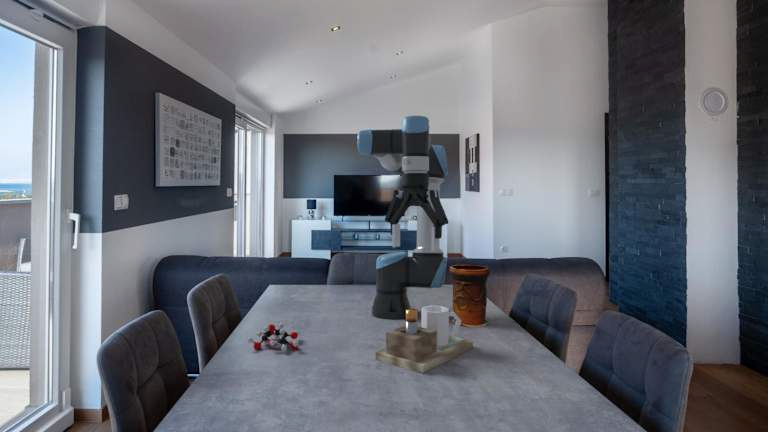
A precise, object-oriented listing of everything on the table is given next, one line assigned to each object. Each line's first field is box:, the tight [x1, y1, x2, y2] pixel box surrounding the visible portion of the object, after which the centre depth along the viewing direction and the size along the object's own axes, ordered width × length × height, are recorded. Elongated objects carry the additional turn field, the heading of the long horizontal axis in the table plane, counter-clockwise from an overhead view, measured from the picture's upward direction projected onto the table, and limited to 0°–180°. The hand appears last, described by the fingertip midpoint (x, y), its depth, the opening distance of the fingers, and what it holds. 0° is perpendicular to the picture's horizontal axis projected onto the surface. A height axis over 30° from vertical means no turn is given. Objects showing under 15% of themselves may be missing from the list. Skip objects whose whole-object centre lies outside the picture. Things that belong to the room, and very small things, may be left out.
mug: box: [420, 305, 461, 346], centre depth 137 cm, size 12×9×10 cm
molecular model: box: [246, 322, 300, 352], centre depth 140 cm, size 10×12×15 cm
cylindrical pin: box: [405, 308, 418, 335], centre depth 128 cm, size 3×3×12 cm
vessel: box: [449, 264, 491, 328], centre depth 166 cm, size 14×14×20 cm
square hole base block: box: [375, 324, 474, 374], centre depth 134 cm, size 16×26×8 cm, turn 140°
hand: (415, 248), depth 130 cm, fingers open, 13 cm apart
